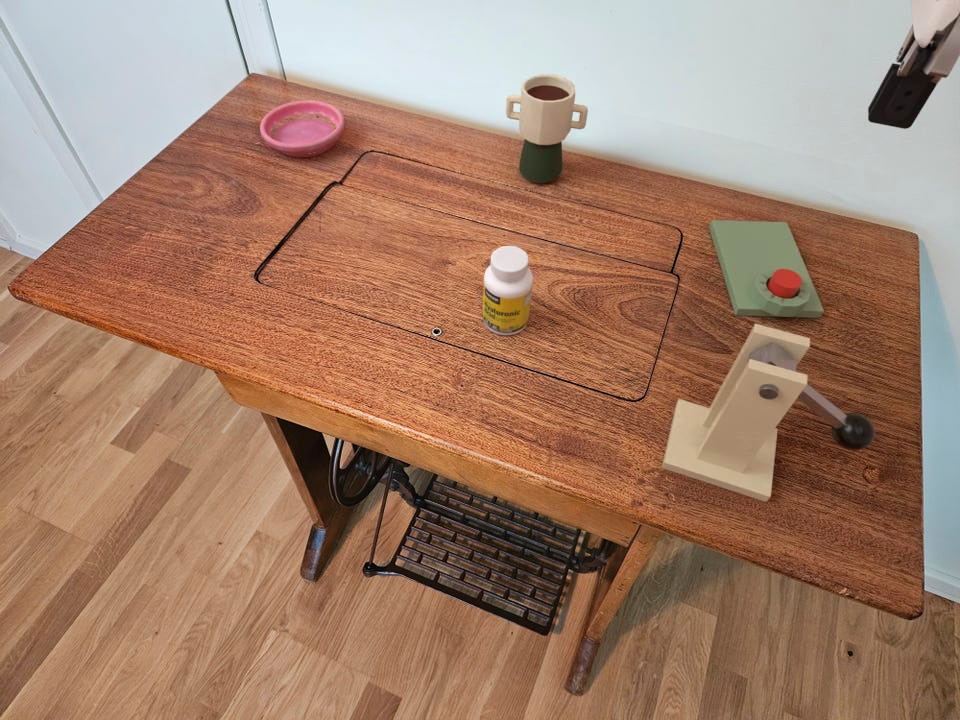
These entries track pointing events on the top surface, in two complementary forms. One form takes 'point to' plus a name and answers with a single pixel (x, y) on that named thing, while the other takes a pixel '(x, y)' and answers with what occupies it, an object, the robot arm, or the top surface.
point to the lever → (822, 403)
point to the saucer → (303, 128)
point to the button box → (762, 268)
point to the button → (784, 283)
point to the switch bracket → (738, 420)
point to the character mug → (545, 124)
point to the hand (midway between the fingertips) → (887, 119)
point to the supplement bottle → (507, 291)
